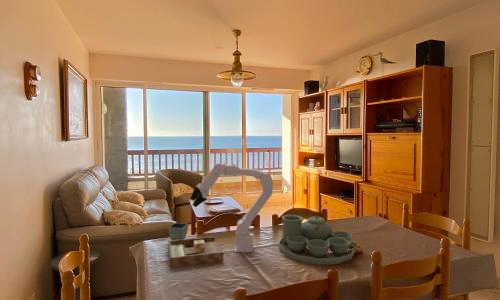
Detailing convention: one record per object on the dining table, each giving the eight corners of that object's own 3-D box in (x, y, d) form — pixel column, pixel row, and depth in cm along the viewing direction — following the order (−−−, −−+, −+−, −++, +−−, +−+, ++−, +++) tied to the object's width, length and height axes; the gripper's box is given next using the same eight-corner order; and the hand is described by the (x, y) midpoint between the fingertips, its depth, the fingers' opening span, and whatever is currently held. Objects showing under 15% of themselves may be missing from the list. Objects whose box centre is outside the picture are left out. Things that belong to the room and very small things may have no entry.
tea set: (294, 269, 143) (294, 234, 142) (270, 239, 182) (271, 212, 181) (371, 262, 151) (372, 229, 150) (333, 235, 191) (333, 209, 190)
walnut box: (214, 244, 174) (214, 236, 174) (223, 261, 151) (223, 252, 151) (168, 248, 167) (168, 240, 167) (170, 267, 144) (170, 258, 144)
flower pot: (182, 243, 174) (182, 228, 174) (168, 242, 176) (167, 227, 175) (188, 238, 183) (188, 223, 182) (174, 237, 185) (174, 222, 184)
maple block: (203, 247, 163) (203, 239, 162) (204, 250, 158) (204, 243, 158) (193, 248, 161) (193, 240, 161) (194, 251, 156) (194, 244, 156)
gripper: (199, 173, 168) (184, 193, 169) (205, 184, 155) (188, 205, 156) (209, 180, 171) (195, 199, 172) (216, 190, 158) (200, 211, 159)
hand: (192, 202), depth 164 cm, fingers open, 7 cm apart
